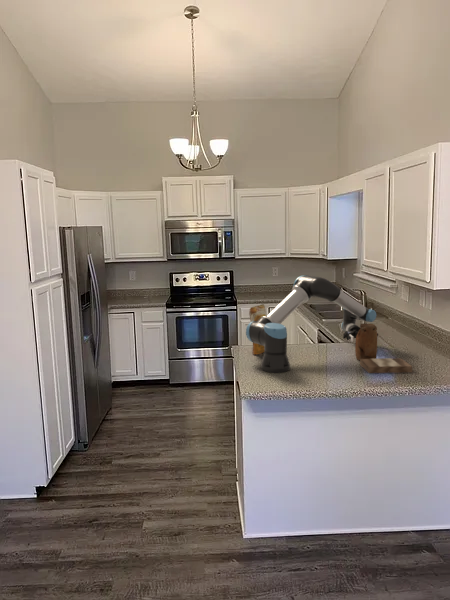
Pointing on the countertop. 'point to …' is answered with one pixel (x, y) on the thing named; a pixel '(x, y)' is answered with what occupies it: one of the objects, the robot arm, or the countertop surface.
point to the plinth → (385, 365)
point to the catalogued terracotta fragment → (366, 342)
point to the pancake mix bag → (255, 315)
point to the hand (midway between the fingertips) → (365, 339)
